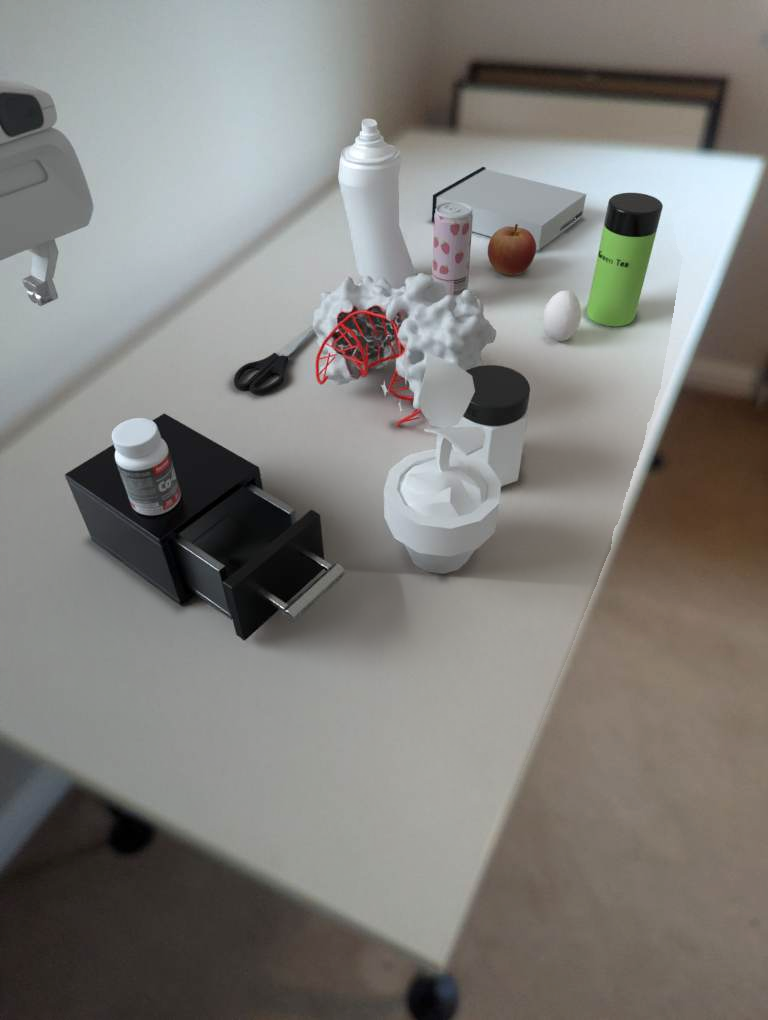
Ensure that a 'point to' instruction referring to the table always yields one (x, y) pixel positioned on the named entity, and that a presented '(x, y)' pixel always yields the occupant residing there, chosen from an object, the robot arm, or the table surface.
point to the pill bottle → (145, 467)
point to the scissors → (270, 367)
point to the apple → (511, 250)
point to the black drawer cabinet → (145, 538)
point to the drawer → (254, 559)
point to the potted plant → (443, 478)
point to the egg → (562, 316)
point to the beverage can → (452, 246)
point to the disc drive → (514, 204)
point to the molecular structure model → (397, 330)
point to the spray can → (374, 207)
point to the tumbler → (623, 258)
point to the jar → (499, 418)
